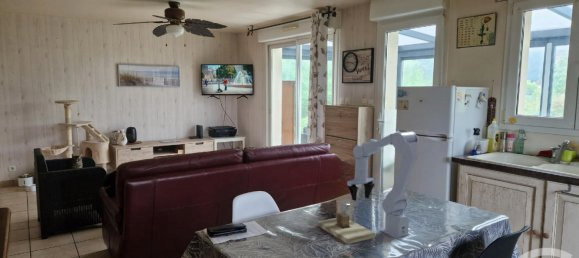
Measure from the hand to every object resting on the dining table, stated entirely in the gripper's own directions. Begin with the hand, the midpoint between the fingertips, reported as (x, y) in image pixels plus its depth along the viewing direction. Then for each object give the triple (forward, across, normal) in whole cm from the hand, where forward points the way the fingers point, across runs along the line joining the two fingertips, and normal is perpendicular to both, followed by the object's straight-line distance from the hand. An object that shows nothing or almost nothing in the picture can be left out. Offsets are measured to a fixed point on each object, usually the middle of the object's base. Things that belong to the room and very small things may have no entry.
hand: (360, 199), depth 176 cm
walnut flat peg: (+9, +16, +8) cm, 20 cm away
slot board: (+9, +16, +10) cm, 21 cm away
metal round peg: (+9, +6, -4) cm, 12 cm away
